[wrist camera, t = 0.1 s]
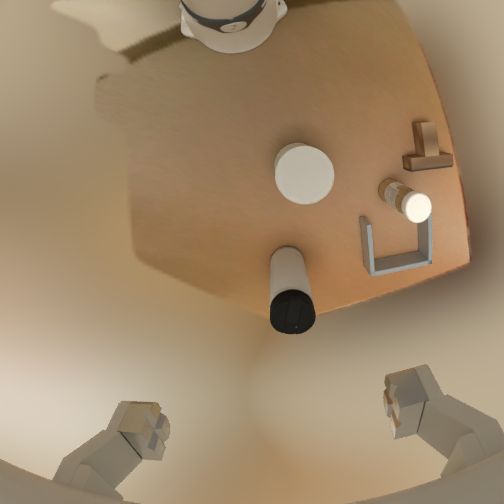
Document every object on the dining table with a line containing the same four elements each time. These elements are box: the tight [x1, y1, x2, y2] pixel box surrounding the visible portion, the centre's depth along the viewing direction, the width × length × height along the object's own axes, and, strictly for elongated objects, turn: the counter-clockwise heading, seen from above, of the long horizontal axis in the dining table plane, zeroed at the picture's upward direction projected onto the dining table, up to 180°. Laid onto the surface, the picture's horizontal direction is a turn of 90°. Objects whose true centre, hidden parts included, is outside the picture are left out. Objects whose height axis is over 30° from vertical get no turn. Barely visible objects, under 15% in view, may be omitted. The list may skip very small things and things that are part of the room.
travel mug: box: [270, 246, 316, 334], centre depth 50 cm, size 6×7×20 cm
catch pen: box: [359, 213, 432, 276], centre depth 54 cm, size 10×13×5 cm
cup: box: [274, 143, 334, 204], centre depth 48 cm, size 8×8×12 cm
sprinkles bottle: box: [379, 179, 431, 223], centre depth 47 cm, size 5×5×14 cm
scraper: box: [402, 122, 453, 172], centre depth 48 cm, size 8×9×4 cm
